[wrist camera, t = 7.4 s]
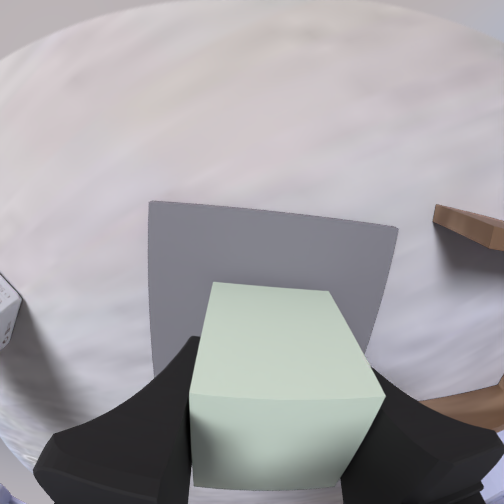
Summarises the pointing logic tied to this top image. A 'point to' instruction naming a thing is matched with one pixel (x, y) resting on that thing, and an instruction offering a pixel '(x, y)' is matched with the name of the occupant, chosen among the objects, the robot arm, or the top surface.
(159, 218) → the charcoal mat
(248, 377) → the sage block
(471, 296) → the top surface
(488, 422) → the walnut u-shaped frame
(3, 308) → the skincare box
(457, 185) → the top surface
